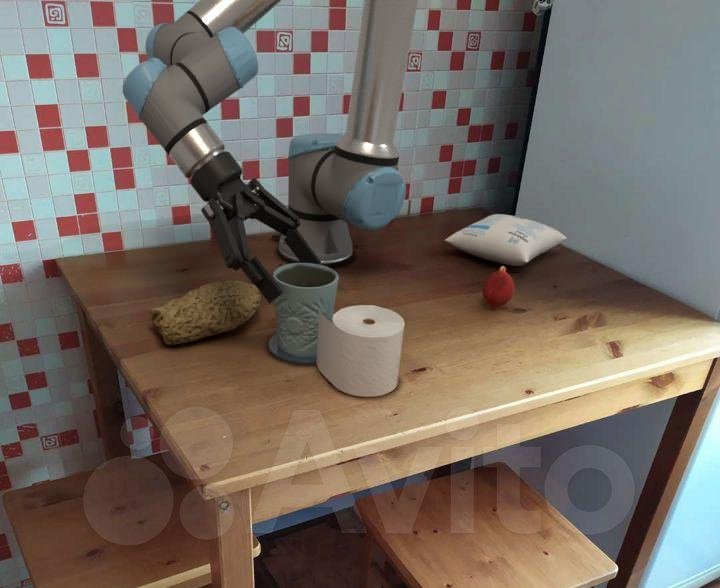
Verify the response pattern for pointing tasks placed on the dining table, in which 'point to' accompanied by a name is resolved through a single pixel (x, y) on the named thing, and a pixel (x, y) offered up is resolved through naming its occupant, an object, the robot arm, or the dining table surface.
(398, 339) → the toilet tissue
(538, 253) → the pouch
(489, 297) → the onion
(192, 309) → the sponge
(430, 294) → the dining table surface
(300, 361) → the coaster
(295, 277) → the embossed green cup
